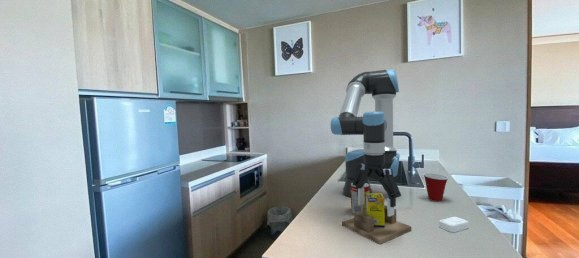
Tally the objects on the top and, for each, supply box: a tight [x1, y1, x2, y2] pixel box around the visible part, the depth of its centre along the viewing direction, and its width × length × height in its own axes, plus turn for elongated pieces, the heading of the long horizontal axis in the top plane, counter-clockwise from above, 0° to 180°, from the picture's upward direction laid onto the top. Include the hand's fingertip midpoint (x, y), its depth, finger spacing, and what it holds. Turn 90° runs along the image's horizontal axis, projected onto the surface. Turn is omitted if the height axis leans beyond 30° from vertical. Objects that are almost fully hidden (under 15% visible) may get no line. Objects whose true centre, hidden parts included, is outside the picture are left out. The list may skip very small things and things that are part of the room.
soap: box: [438, 216, 470, 234], centre depth 95 cm, size 9×6×3 cm, turn 112°
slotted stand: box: [341, 204, 412, 245], centre depth 97 cm, size 18×17×6 cm
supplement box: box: [366, 192, 385, 227], centre depth 97 cm, size 6×6×11 cm
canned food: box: [350, 183, 369, 214], centre depth 114 cm, size 8×8×12 cm
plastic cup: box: [423, 172, 450, 202], centre depth 125 cm, size 11×11×12 cm
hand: (375, 209), depth 97 cm, fingers open, 13 cm apart
